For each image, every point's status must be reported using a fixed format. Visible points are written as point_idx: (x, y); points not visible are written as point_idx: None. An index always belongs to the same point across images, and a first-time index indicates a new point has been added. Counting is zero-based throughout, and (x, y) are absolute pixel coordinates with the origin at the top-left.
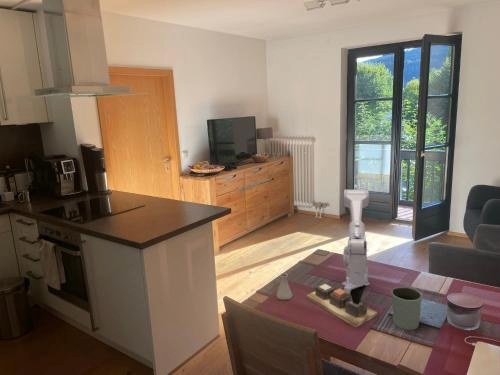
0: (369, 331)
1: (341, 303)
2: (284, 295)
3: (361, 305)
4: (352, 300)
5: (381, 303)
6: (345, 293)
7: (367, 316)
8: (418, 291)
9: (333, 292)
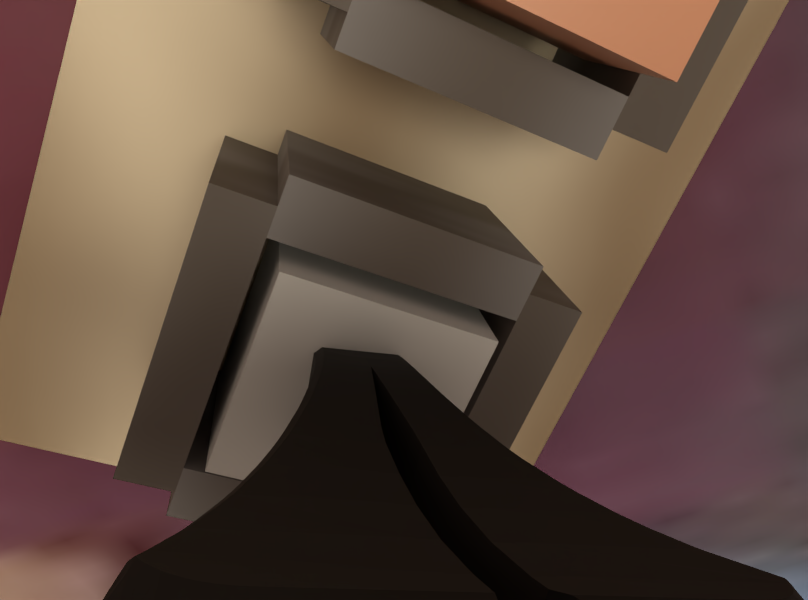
0: (45, 561)
1: (336, 13)
2: None
3: None
4: (315, 367)
5: (795, 453)
6: (613, 57)
7: None
8: None
9: None
